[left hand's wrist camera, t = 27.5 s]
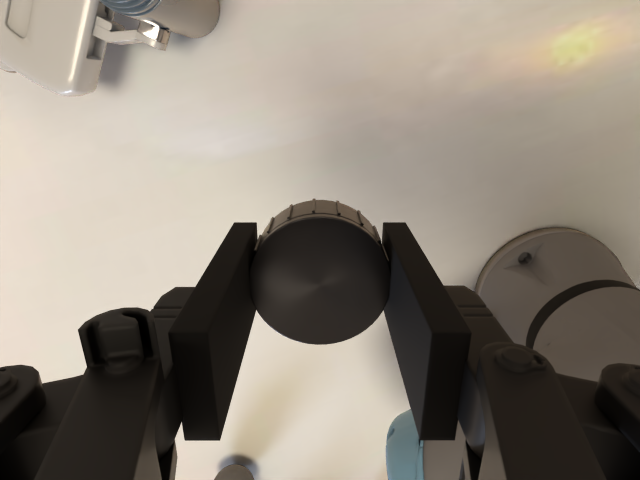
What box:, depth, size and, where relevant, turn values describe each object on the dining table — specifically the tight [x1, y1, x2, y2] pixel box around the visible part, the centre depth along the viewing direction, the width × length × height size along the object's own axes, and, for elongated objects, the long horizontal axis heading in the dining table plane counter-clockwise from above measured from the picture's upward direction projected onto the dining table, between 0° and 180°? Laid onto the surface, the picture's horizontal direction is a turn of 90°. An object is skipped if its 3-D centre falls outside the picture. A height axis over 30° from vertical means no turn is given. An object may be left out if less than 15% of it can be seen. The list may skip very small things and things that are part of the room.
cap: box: [249, 199, 391, 345], centre depth 13 cm, size 4×4×2 cm
